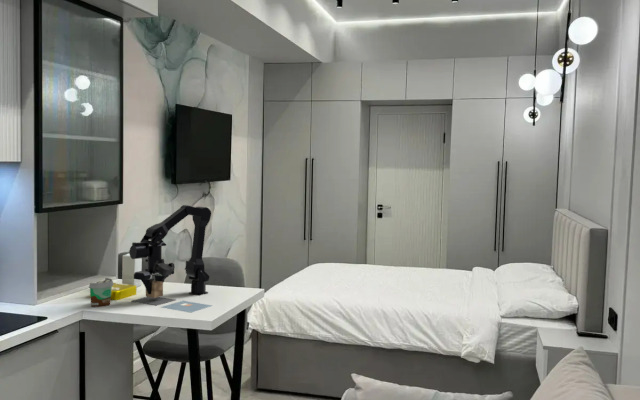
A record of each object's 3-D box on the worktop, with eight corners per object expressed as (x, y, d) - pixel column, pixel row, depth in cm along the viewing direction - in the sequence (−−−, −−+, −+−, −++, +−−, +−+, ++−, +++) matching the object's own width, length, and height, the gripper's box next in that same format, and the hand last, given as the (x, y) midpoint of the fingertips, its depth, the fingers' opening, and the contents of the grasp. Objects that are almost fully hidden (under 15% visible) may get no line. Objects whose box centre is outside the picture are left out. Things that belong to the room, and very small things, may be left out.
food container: (102, 308, 236) (102, 284, 235) (88, 307, 237) (89, 283, 236) (119, 302, 248) (119, 278, 247) (105, 301, 249) (106, 277, 248)
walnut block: (154, 294, 254) (154, 280, 254) (162, 295, 252) (162, 281, 252) (145, 296, 250) (145, 282, 249) (154, 297, 248) (154, 283, 247)
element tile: (138, 294, 264) (138, 284, 264) (117, 301, 250) (117, 290, 250) (110, 291, 269) (110, 281, 269) (87, 298, 255) (88, 287, 254)
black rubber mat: (151, 296, 260) (151, 295, 259) (176, 300, 253) (176, 299, 253) (131, 301, 249) (131, 300, 249) (156, 306, 242) (156, 305, 242)
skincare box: (129, 284, 283) (129, 252, 282) (142, 285, 282) (142, 253, 281) (121, 288, 275) (121, 255, 274) (134, 288, 274) (135, 255, 273)
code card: (183, 301, 253) (183, 300, 252) (212, 306, 245) (212, 305, 245) (160, 307, 240) (160, 307, 240) (190, 313, 233) (190, 312, 233)
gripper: (153, 261, 238) (152, 299, 239) (184, 255, 254) (183, 291, 255) (132, 258, 243) (132, 296, 244) (164, 253, 260) (164, 288, 260)
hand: (154, 293), depth 251 cm, fingers closed on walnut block, 5 cm apart
